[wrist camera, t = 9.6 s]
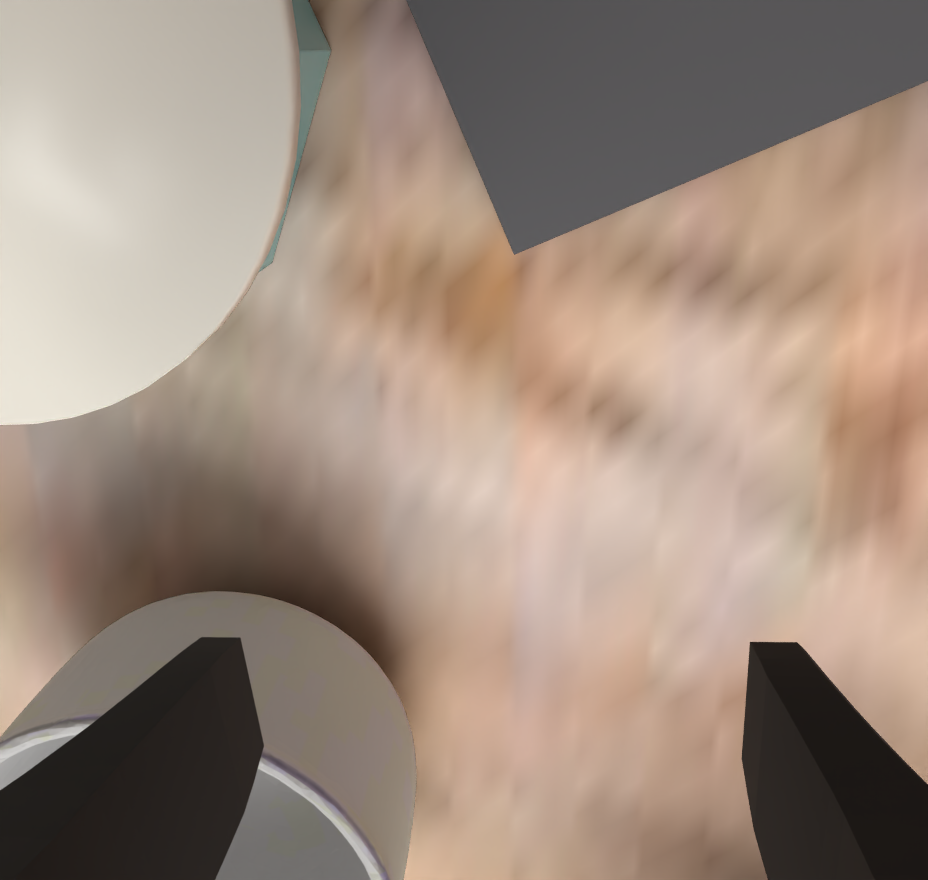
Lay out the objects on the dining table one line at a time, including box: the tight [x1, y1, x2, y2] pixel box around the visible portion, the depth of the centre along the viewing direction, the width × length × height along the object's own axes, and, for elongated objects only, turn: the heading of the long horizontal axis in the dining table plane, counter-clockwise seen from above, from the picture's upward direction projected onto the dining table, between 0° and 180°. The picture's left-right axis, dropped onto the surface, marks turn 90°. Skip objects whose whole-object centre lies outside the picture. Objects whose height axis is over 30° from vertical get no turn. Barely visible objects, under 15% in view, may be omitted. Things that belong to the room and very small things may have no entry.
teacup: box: [0, 591, 416, 880], centre depth 23 cm, size 14×11×8 cm
